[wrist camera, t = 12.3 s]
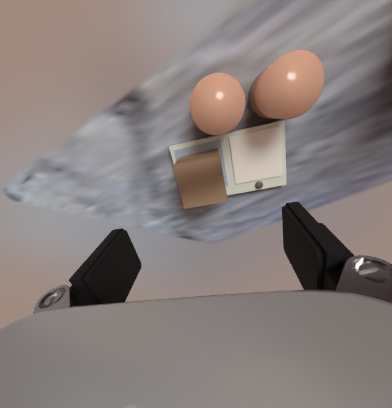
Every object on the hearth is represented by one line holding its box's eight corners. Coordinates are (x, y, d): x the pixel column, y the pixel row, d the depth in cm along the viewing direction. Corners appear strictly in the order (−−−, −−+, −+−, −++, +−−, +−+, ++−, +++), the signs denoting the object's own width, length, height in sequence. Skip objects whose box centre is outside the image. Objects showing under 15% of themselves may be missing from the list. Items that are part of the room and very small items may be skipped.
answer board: (281, 120, 22) (285, 120, 21) (283, 182, 25) (286, 185, 24) (170, 145, 24) (168, 147, 23) (185, 200, 28) (184, 203, 27)
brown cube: (224, 185, 25) (228, 201, 20) (188, 192, 26) (184, 209, 21) (217, 148, 23) (220, 156, 18) (179, 157, 24) (172, 166, 19)
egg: (233, 78, 21) (241, 65, 15) (238, 125, 23) (248, 128, 17) (190, 90, 22) (183, 81, 16) (199, 134, 24) (196, 140, 18)
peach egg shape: (294, 61, 20) (326, 41, 14) (294, 112, 22) (322, 111, 16) (246, 74, 21) (260, 60, 15) (251, 122, 23) (264, 124, 17)
